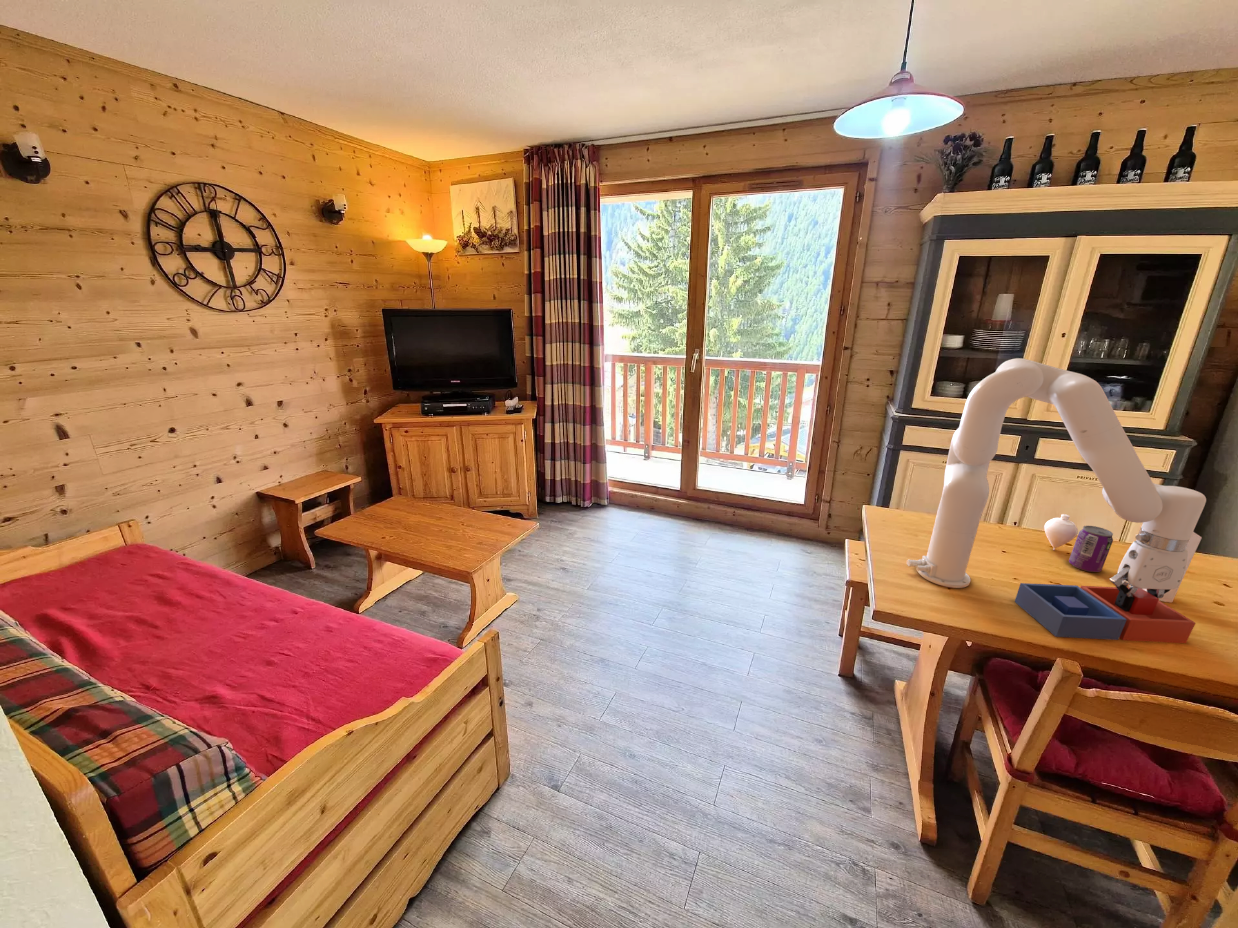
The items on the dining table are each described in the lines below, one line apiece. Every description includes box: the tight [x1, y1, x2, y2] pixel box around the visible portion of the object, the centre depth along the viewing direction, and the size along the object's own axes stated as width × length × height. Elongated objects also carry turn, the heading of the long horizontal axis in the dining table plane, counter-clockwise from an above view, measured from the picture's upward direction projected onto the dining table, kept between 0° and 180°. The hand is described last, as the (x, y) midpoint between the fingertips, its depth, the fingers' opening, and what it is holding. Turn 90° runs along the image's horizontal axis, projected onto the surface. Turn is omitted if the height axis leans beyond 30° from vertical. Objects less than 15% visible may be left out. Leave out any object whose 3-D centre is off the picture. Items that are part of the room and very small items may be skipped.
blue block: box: [1051, 596, 1089, 616], centre depth 116 cm, size 4×4×4 cm
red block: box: [1127, 587, 1159, 615], centre depth 114 cm, size 4×4×4 cm
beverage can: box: [1068, 525, 1114, 573], centre depth 138 cm, size 7×7×12 cm
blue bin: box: [1014, 582, 1127, 641], centre depth 116 cm, size 14×14×6 cm
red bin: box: [1079, 585, 1196, 644], centre depth 115 cm, size 14×14×6 cm
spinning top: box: [1043, 513, 1079, 551], centre depth 148 cm, size 8×8×12 cm
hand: (1133, 607), depth 115 cm, fingers closed on red block, 4 cm apart
